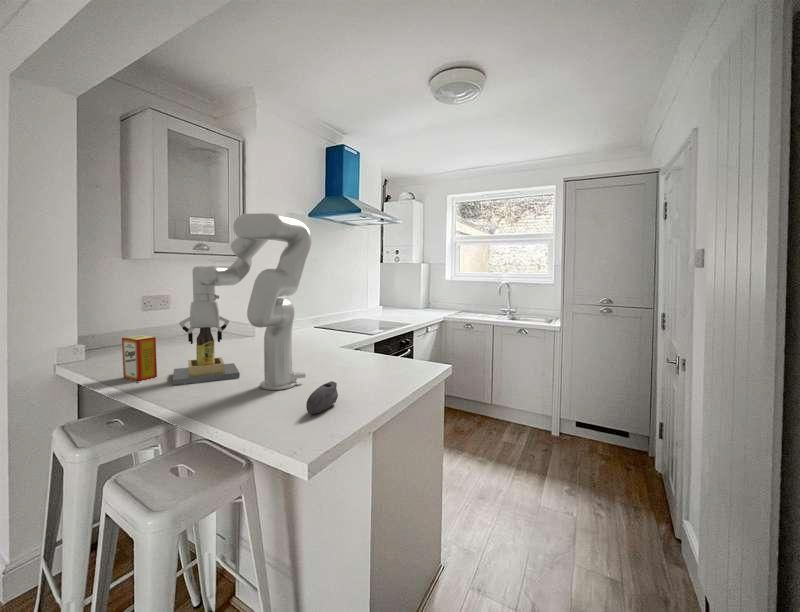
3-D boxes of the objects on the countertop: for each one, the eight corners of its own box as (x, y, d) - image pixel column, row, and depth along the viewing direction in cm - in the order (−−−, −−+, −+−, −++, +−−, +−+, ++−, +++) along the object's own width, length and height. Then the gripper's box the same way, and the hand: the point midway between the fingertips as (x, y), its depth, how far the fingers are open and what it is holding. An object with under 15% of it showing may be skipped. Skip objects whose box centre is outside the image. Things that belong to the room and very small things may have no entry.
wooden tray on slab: (234, 367, 160) (233, 355, 160) (239, 377, 145) (239, 363, 144) (174, 373, 149) (173, 360, 149) (173, 385, 134) (172, 370, 133)
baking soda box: (157, 377, 144) (155, 336, 143) (139, 381, 138) (137, 338, 137) (141, 374, 148) (139, 334, 147) (123, 378, 142) (121, 336, 141)
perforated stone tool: (314, 419, 104) (314, 395, 103) (299, 416, 106) (298, 392, 105) (342, 403, 118) (342, 381, 117) (327, 400, 120) (327, 379, 119)
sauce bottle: (207, 373, 143) (205, 321, 141) (192, 372, 144) (191, 321, 142) (218, 369, 149) (217, 319, 148) (205, 368, 150) (203, 319, 149)
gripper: (227, 297, 152) (228, 339, 154) (178, 298, 144) (179, 342, 145) (229, 298, 146) (230, 342, 147) (178, 299, 137) (179, 345, 138)
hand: (205, 342), depth 146 cm, fingers open, 9 cm apart
